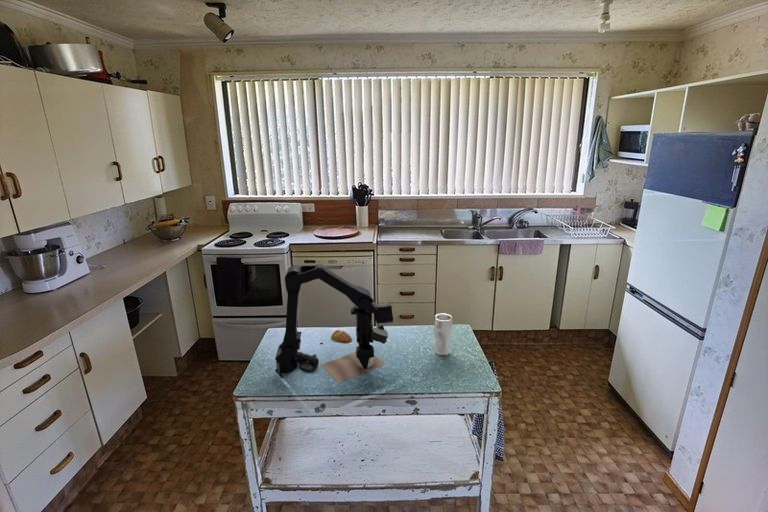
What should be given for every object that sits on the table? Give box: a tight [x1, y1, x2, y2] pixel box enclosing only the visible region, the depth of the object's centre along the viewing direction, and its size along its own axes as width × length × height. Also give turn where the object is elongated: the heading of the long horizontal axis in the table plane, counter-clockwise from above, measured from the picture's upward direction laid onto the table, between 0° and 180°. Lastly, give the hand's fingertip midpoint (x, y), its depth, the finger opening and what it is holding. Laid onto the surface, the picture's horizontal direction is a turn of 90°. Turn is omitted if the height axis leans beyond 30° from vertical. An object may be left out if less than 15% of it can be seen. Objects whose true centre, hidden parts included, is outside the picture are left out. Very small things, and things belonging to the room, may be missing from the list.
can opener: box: [295, 350, 320, 373], centre depth 146 cm, size 18×7×6 cm, turn 53°
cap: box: [356, 357, 374, 368], centre depth 144 cm, size 6×6×4 cm
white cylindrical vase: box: [433, 313, 453, 357], centre depth 152 cm, size 7×7×15 cm
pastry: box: [330, 329, 353, 344], centre depth 163 cm, size 9×7×4 cm
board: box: [320, 351, 387, 384], centre depth 145 cm, size 20×14×1 cm
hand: (365, 361), depth 145 cm, fingers open, 9 cm apart
